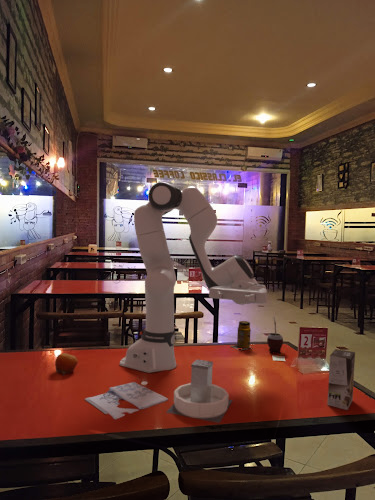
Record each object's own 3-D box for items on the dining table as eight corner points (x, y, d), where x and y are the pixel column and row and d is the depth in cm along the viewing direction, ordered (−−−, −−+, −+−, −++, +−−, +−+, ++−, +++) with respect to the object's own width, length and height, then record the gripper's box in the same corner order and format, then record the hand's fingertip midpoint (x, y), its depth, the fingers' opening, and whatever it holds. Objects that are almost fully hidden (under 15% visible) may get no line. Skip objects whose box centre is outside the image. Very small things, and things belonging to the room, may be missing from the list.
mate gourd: (275, 355, 173) (277, 321, 172) (262, 350, 179) (263, 318, 178) (286, 352, 178) (287, 319, 177) (272, 348, 184) (273, 316, 183)
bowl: (166, 412, 113) (166, 398, 113) (185, 391, 128) (185, 379, 128) (219, 423, 108) (219, 408, 107) (232, 400, 123) (233, 387, 122)
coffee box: (348, 410, 119) (351, 358, 119) (326, 405, 123) (329, 354, 122) (353, 400, 127) (356, 351, 126) (332, 395, 131) (335, 348, 130)
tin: (189, 404, 116) (191, 364, 116) (195, 398, 121) (196, 359, 121) (206, 407, 114) (208, 367, 114) (211, 400, 119) (212, 361, 119)
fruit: (46, 371, 140) (54, 349, 144) (58, 376, 146) (66, 355, 150) (64, 374, 137) (72, 352, 141) (76, 379, 143) (83, 358, 147)
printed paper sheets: (169, 405, 121) (170, 398, 121) (112, 424, 107) (113, 416, 107) (135, 385, 135) (135, 379, 135) (81, 400, 121) (81, 394, 121)
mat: (166, 414, 113) (166, 412, 113) (185, 393, 128) (185, 391, 128) (219, 425, 108) (219, 423, 108) (232, 402, 123) (232, 400, 123)
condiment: (253, 348, 183) (254, 322, 182) (240, 350, 178) (241, 324, 177) (243, 344, 189) (244, 319, 188) (229, 346, 184) (230, 321, 184)
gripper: (214, 281, 146) (203, 285, 133) (270, 285, 139) (264, 290, 126) (214, 297, 147) (203, 303, 134) (269, 303, 140) (263, 309, 127)
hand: (233, 297), depth 130 cm, fingers open, 8 cm apart
